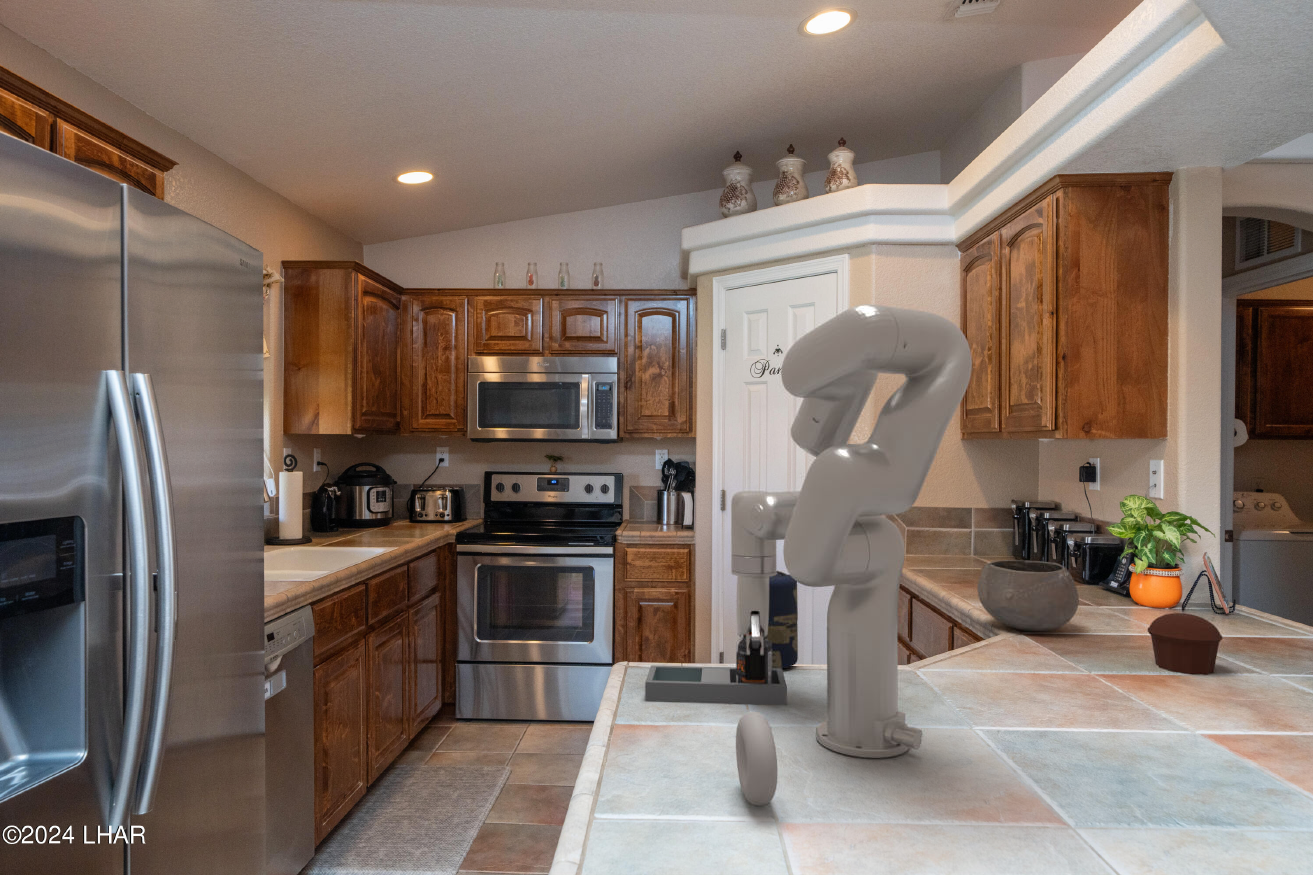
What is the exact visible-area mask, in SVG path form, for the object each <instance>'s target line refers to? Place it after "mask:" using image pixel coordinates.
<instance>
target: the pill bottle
mask: <svg viewBox="0 0 1313 875" xmlns="http://www.w3.org/2000/svg"><path fill="white" fill-rule="evenodd" d="M763 630H764V629H763ZM749 635H752V632H749ZM760 635H761V632H760ZM750 641H752V640H750ZM763 648H764V655H765V679H764V680H746V679H745V654H746V635H742V637H739V638H738V640H737V641H736V649H735V650H736V651H735V652H736V653H735V654H736V655H735V656H736V659H735V660H736V661H735V663H736V664H735V667H736V683H761V684H772V643H771V641H770V640H768V639H767V638H766V637H764V638H763Z"/></svg>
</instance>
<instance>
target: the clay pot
mask: <svg viewBox="0 0 1313 875" xmlns="http://www.w3.org/2000/svg"><path fill="white" fill-rule="evenodd" d="M980 570H981V574H980V575H979V578H978V580H977V581H978V582H977V586H976V588H977V589H976V590H977V595H978V599H979V601H980V604H981V605H982V607H983V608H984V610H985V611H986V612H987V613H988V615H990V616H991V617H992V618H993V619H994V620H996V621H998V622H999V623H1001V624H1003V625H1005V626H1007V627H1010V628H1011V629H1016V630H1020V631H1026V632H1045V631H1046V632H1048V631H1053V630H1057V629H1059V628H1061V627H1062V626H1065V625H1067V624H1068V623H1069V622H1070V621H1071V620H1072V619H1073V617H1074V616H1075V615H1076V613H1077V611H1078V607H1079V602H1080V598H1079V592H1078V589H1077V585H1076V583H1075V580H1074V578H1073V576H1072V574H1071V573H1070V572H1069V570H1068V569H1067V568H1066V567H1065V566H1063V565H1061V564H1059V563H1057V562H1050V561H1049V562H1048V561H1042V560H1041V561H1037V560H1024V559H1006V560H996V561H991V562H987V563H985V564H984V565H983V566H982V567H981V569H980Z"/></svg>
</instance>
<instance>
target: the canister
mask: <svg viewBox="0 0 1313 875" xmlns="http://www.w3.org/2000/svg"><path fill="white" fill-rule="evenodd" d="M776 573H777V574H776V575H775V576H770V577H769V620H768V633H767V636H766V638H767V639H768V640H770V641H771V643H772V668H775V669H784V668H786V669H787V668H791V667H793V666H795V665H796V664H797V663H798V660H799V659H798V658H799V656H798V655H799V653H798V652H799V649H798V648H799V645H798V644H799V641H798V640H799V639H798V635H799V634H798V633H799V632H798V631H799V630H798V629H799V628H798V619H799V615H798V613H799V612H798V610H799V609H798V608H799V607H798V606H799V604H798V582H797V581H796V580H794V579H793V578H792V577H791V575H790V574H789V573H788V574H787V573H785V572H783V571H779V570H776Z"/></svg>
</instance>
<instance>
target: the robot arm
mask: <svg viewBox="0 0 1313 875" xmlns="http://www.w3.org/2000/svg"><path fill="white" fill-rule="evenodd" d="M972 361H973V360H972V352H971V347H970V344H969V343H968V339H967V338H966V336H965V334H964V333H963V331H962V329H960V328H959V327H958V325H956V323H954V322H952V321H951V320H949V319H948V318H946V317H943V316H942V315H939V314H935V313H932V312H929V311H923V310H917V309H916V310H915V309H911V308H901V307H900V308H899V307H895V306H894V307H893V306H887V305H881V304H868V303H867V304H860V305H857V306H856V305H855V306H853V307H850V308H848V309H845V310H844V311H842V312H841V313H838V314H837V315H835V316H834V317H832V318H830V319H828V320H827V321H825V322H823V323H822V324H821V325H818V326H817V327H815V328H813V329H812V330H810V331H809V332H807V333H805V334H804V335H803V336H802V337H800V338H799V339H798V340H797V341H795V342H794V343H793V344H792V346H791V347H789V349H788V350H787V352H786V353H785V356H784V359H783V362H782V365H781V369H780V370H781V372H780V376H781V377H780V378H781V382H782V386H783V387H784V389H785V390H786V391H787V392H788V393H789V394H790V395H791V396H793V397H796V398H802V401H801V404H800V406H799V409H798V411H797V413H796V416H795V418H794V421H793V422H792V424H791V427H790V436H791V438H792V440H793V442H794V443H795V444H796V445H797V446H798V447H799V448H800V449H801V450H803V451H804V452H806V453H807V454H809V455H811V456H813V457H815V459H814V460H813V461H812V463H811V464H810V467H809V468H808V470H807V473H806V476H804V477H805V478H804V480H803V483H802V486H801V489H800V490H797V491H796V490H795V491H774V492H772V491H771V492H768V491H763V490H762V491H760V490H759V491H757V490H753V491H752V490H750V491H749V490H747V491H745V490H743V491H738V492H736V493H734V494H733V495H732V498H731V504H730V507H731V508H730V510H731V512H730V513H731V514H730V516H731V517H730V518H731V521H730V522H731V523H730V524H731V525H730V526H731V529H730V534H731V535H730V538H731V540H730V541H731V542H730V544H731V545H730V546H731V548H730V550H731V551H730V552H731V557H730V559H731V562H730V566H731V567H730V568H731V570H730V573H731V575H733V576H737V577H736V578H737V580H736V631H737V632H736V633H737V636H738V637H739V638H742V636H743V635H746V654H745V679H746V680H764V679H765V655H764V648H763V638H764V637H766V636H767V633H768V620H769V577H770V576H775V575H776V574H777V573H776V571H777V541H780V540H783V550H782V551H783V552H782V553H783V562H784V565H785V568H786V570H787V572H788V575H791V577H792V578H793V579H794V580H796V581H797V584H801V585H803V586H806V587H810V588H823V587H833V586H834V588H833V590H832V593H831V594H830V595H831V596H830V599H829V602H828V606H827V612H826V677H827V678H826V681H827V682H826V690H827V691H826V694H827V695H826V699H827V700H826V701H827V702H826V707H827V710H826V711H827V712H826V714H827V715H826V716H827V717H826V718H827V720H825V721H823V722H821V723H820V724H818V725H817V727H816V730H815V736H816V740H817V742H818V743H820V744H821V745H822V746H823V747H825V748H827V749H829V750H831V751H834V752H836V753H840V754H842V755H847V756H852V757H858V758H868V759H875V758H876V759H880V758H881V759H883V758H891V757H896V756H898V755H899V756H900V755H902V754H904V753H906V752H907V751H908V750H909V749H910V748H911V749H914V750H919V749H920V747H921V745H922V742H923V740H922V737H923V730H922V729H921V728H917V727H913V726H909V725H908V724H907V723H906V713H905V712H902V711H899V693H898V692H899V688H898V687H899V686H898V684H899V680H898V679H899V678H898V676H899V674H898V672H899V670H898V666H899V663H898V661H899V660H898V630H899V629H898V628H899V627H898V626H899V624H898V623H899V622H898V621H899V620H898V619H899V618H898V617H899V615H898V611H899V610H898V609H899V607H898V606H899V593H900V592H899V591H900V584H901V579H902V574H903V569H904V564H905V556H906V555H905V554H906V550H905V548H906V547H905V541H904V538H903V535H902V533H901V531H900V529H899V528H898V527H897V525H896V524H895V523H894V522H893V521H891V520H890V519H888V518H887V517H886V516H891V515H897V514H898V515H899V514H902V513H904V512H907V511H908V510H909V509H911V508H912V507H913V505H914V504H915V503H916V501H917V499H918V498H919V496H920V493H921V491H922V489H923V487H924V484H925V482H926V479H927V477H928V474H929V472H930V470H931V468H932V465H933V463H934V460H935V459H936V456H937V454H938V451H939V448H940V446H941V443H942V440H943V438H944V435H945V433H946V431H947V429H948V427H949V424H950V423H951V421H952V420H953V417H954V415H955V413H956V411H957V409H958V408H959V406H960V404H961V402H962V400H963V398H964V395H965V394H966V391H967V389H968V387H969V383H970V380H971V377H972V376H971V375H972V367H973V366H972V364H973V363H972ZM879 374H890V375H902V376H904V377H905V380H904V382H903V383H902V384H901V385H899V387H898V388H897V389H896V390H894V392H893V393H892V394H891V396H890V397H889V398H888V399H887V400H886V402H885V403H884V404H883V406H882V408H881V410H880V412H879V414H878V417H877V420H876V422H875V425H874V427H873V429H872V432H871V434H870V436H869V437H868V439H867V440H866V441H864V442H863V443H849V440H850V437H851V436H852V433H853V432H854V429H855V428H856V425H857V423H858V420H859V418H860V417H861V415H862V412H863V411H864V408H865V406H866V404H867V403H868V399H869V398H870V395H871V394H872V391H873V390H874V387H875V384H876V382H877V380H878V377H879ZM763 629H764V630H763ZM749 632H752V635H749ZM760 632H761V635H760ZM750 640H752V641H750Z"/></svg>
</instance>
